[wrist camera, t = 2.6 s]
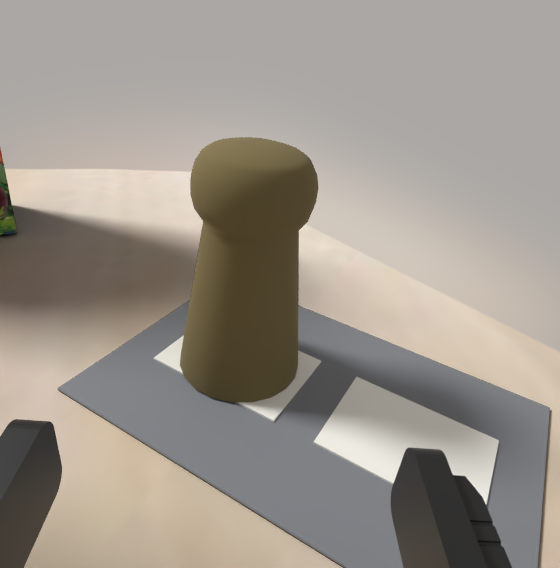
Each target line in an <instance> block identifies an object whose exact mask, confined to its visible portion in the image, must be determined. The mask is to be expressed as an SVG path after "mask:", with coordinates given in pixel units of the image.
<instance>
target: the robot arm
mask: <svg viewBox="0 0 560 568" xmlns="http://www.w3.org/2000/svg"><path fill="white" fill-rule="evenodd" d="M61 475H62V465H61V460H60V455H59V450H58V445H57V440H56V435H55V430H54V426H53V424H52V423H51V422H48V421H33V420H18V419H16V420H13V421H12V422H10V423H9V424H8V426H7V427H6V429H5V430H4V432H3V433H2V435H1V436H0V568H24V565H25V563H26V561H27V559H28V556H29V554H30V552H31V550H32V548H33V545H34V543H35V541H36V539H37V537H38V534H39V532H40V530H41V528H42V526H43V523H44V521H45V519H46V517H47V515H48V512H49V510H50V508H51V506H52V504H53V501H54V499H55V497H56V494H57V492H58V489H59V485H60V481H61ZM391 514H392V519H393V523H394V528H395V532H396V537H397V541H398V546H399V550H400V555H401V559H402V563H403V568H512V566H511V564H510V561H509V559H508V557H507V554H506V552H505V549H504V547H502V546H501V540H500V537H499V535H498V533H497V530H496V528H495V526H493V521H492V518H491V516H490V514H489V511H488V509H487V506H486V504H485V502H484V499H483V497H482V496H481V495H480V493H479V492H478V491H477V490H476V489H475V487H474V486H473V485H472V484H471V482H470V481H469V480H468V479H467V478H466V476H459V475H453V474H452V472H451V469H450V466H449V464H448V461H447V458H446V456H445V454H444V453H443V451H441V450H439V449H425V448H410V447H409V448H407V449H406V450H405V453H404V455H403V458H402V461H401V464H400V467H399V469H398V472H397V475H396V478H395V481H394V484H393V486H392V490H391Z"/></svg>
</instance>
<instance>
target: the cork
mask: <svg viewBox="0 0 560 568" xmlns="http://www.w3.org/2000/svg"><path fill="white" fill-rule="evenodd" d="M317 193H318V180H317V174H316V171H315V169H314V166H313V164H312V162H311V160H310V159H309V157H307V155H305V154H304V153H303V152H301V151H300V150H298V149H297V148H295V147H292V146H290V145H287V144H284V143H280V142H276V141H272V140H268V139H262V138H229V139H222V140H218V141H215V142H213V143H211V144H209V145H207V146H206V147H205V148H203V149H202V150H201V152H200V154H199V155H198V156H197V158H196V159H195V162H194V165H193V169H192V173H191V198H192V202H193V206H194V209H195V210H196V211H197V213H198V214H199V216H200V217H201V218H202V220H203V226H202V232H201V238H200V244H199V250H198V256H197V261H196V267H195V273H194V279H193V285H192V291H191V297H190V302H189V308H188V314H187V320H186V326H185V332H184V338H183V343H182V349H181V357H180V367H181V370H182V372H183V375H184V377H185V379H186V380H187V381H188V382H189V383H190V384H191V385H192V386H193V387H194V388H195V389H196V390H198V391H200V392H202V393H204V394H206V395H208V396H210V397H212V398H215V399H219V400H224V401H228V402H256V401H260V400H264V399H268V398H272V397H273V396H275V395H277V394H278V393H280V392H282V391H283V390H285V389H286V388H287V387H288V386H289V385H290V384H291V382H292V381H293V380H294V379H295V376H296V372H297V368H298V248H299V230H300V229H301V228H302V227H303V226H304V225H305V224H306V223H307V222H308V219H309V217H310V215H311V213H312V210H313V208H314V205H315V203H316V198H317Z"/></svg>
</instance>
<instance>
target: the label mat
mask: <svg viewBox="0 0 560 568" xmlns="http://www.w3.org/2000/svg"><path fill="white" fill-rule="evenodd" d="M189 302H190V300H189V301H187V302H186V303H184V304H183V305H182V306H180V307H179V308H177V309H176V310H174V311H173V312H171V313H170V314H168V315H167V316H165V317H164V318H162V319H161V320H159V321H158V322H156V323H155V324H153V325H152V326H150V327H149V328H147V329H146V330H144V331H143V332H141V333H140V334H138V335H137V336H135V337H134V338H132V339H131V340H129V341H128V342H126V343H125V344H123V345H122V346H120V347H119V348H117V349H116V350H114V351H113V352H111V353H110V354H108V355H107V356H105V357H104V358H102V359H101V360H99V361H98V362H96V363H95V364H93V365H92V366H90V367H89V368H87V369H86V370H84V371H83V372H81V373H80V374H78V375H77V376H75V377H74V378H72V379H71V380H69V381H68V382H66V383H65V384H63V385H62V386H60V387H59V388H58V390H59V391H60V392H62V393H64V394H65V395H67V396H68V397H70V398H72V399H73V400H75V401H76V402H78V403H80V404H81V405H83V406H85V407H86V408H88V409H89V410H91V411H93V412H94V413H96V414H97V415H99V416H101V417H102V418H104V419H105V420H107V421H109V422H110V423H112V424H114V425H115V426H117V427H118V428H120V429H122V430H123V431H125V432H126V433H128V434H130V435H131V436H133V437H134V438H136V439H138V440H139V441H141V442H143V443H144V444H146V445H147V446H149V447H151V448H152V449H154V450H155V451H157V452H159V453H160V454H162V455H163V456H165V457H167V458H168V459H170V460H171V461H173V462H175V463H176V464H178V465H180V466H181V467H183V468H184V469H186V470H188V471H189V472H191V473H192V474H194V475H196V476H197V477H199V478H200V479H202V480H204V481H205V482H207V483H209V484H210V485H212V486H213V487H215V488H217V489H218V490H220V491H221V492H223V493H225V494H226V495H228V496H229V497H231V498H233V499H234V500H236V501H238V502H239V503H241V504H242V505H244V506H246V507H247V508H249V509H250V510H252V511H254V512H255V513H257V514H258V515H260V516H262V517H263V518H265V519H267V520H268V521H270V522H271V523H273V524H275V525H276V526H278V527H279V528H281V529H283V530H284V531H286V532H287V533H289V534H291V535H292V536H294V537H295V538H297V539H299V540H300V541H302V542H304V543H305V544H307V545H308V546H310V547H312V548H313V549H315V550H316V551H318V552H320V553H321V554H323V555H324V556H326V557H328V558H329V559H331V560H333V561H334V562H336V563H337V564H339V565H341V566H342V567H344V568H403V563H402V559H401V555H400V550H399V546H398V541H397V537H396V532H395V528H394V523H393V519H392V514H391V490H392V486H393V484H394V481H395V478H396V475H397V472H398V469H399V467H400V464H401V461H402V458H403V455H404V453H405V450H406V449H407V448H409V447H410V448H425V449H439V450H441V451H443V453H444V454H445V456H446V458H447V461H448V464H449V466H450V469H451V472H452V474H453V475H459V476H466V478H467V479H468V480H469V481H470V482H471V484H472V485H473V486H474V487H475V489H476V490H477V491H478V492H479V493H480V495H481V496H482V497H483V499H484V502H485V504H486V506H487V509H488V511H489V514H490V516H491V518H492V521H493V526H495V528H496V530H497V533H498V535H499V537H500V540H501V546H502V547H504V549H505V552H506V554H507V557H508V559H509V561H510V564H511V566H512V568H538V555H539V542H540V529H541V516H542V503H543V490H544V477H545V464H546V451H547V438H548V425H549V412H550V408H549V407H547V406H544V405H542V404H539V403H537V402H534V401H532V400H530V399H527V398H525V397H522V396H520V395H517V394H515V393H512V392H510V391H507V390H505V389H502V388H500V387H498V386H495V385H493V384H490V383H488V382H485V381H483V380H480V379H478V378H475V377H473V376H470V375H468V374H466V373H463V372H461V371H458V370H456V369H453V368H451V367H448V366H446V365H443V364H441V363H439V362H436V361H434V360H431V359H429V358H426V357H424V356H421V355H419V354H416V353H414V352H411V351H409V350H407V349H404V348H402V347H399V346H397V345H394V344H392V343H389V342H387V341H384V340H382V339H380V338H377V337H375V336H372V335H370V334H367V333H365V332H362V331H360V330H357V329H355V328H352V327H350V326H348V325H345V324H343V323H340V322H338V321H335V320H333V319H330V318H328V317H325V316H323V315H320V314H318V313H316V312H313V311H311V310H308V309H306V308H303V307H301V306H298V368H297V372H296V376H295V379H294V380H293V381H292V382H291V384H290V385H289V386H288V387H287V388H286V389H285V390H283V391H282V392H280V393H278V394H277V395H275V396H273V397H272V398H268V399H264V400H260V401H256V402H228V401H224V400H219V399H215V398H212V397H210V396H208V395H206V394H204V393H202V392H200V391H198V390H196V389H195V388H194V387H193V386H192V385H191V384H190V383H189V382H188V381H187V380H186V379H185V377H184V375H183V372H182V370H181V367H180V357H181V349H182V343H183V338H184V332H185V326H186V320H187V314H188V308H189Z"/></svg>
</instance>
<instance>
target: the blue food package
mask: <svg viewBox="0 0 560 568" xmlns="http://www.w3.org/2000/svg"><path fill="white" fill-rule="evenodd" d="M11 233H17V229H16V224H15V219H14V214H13V209H12V204H11V199H10V194H9V189H8V184H7V178H6V173H5V169H4V164H3V159H2V154H1V150H0V235H2V234H11Z"/></svg>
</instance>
